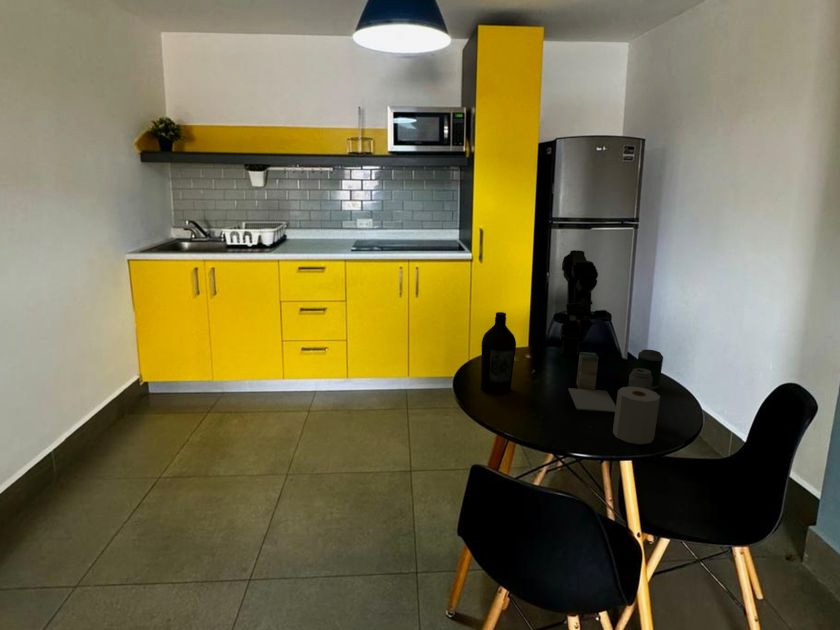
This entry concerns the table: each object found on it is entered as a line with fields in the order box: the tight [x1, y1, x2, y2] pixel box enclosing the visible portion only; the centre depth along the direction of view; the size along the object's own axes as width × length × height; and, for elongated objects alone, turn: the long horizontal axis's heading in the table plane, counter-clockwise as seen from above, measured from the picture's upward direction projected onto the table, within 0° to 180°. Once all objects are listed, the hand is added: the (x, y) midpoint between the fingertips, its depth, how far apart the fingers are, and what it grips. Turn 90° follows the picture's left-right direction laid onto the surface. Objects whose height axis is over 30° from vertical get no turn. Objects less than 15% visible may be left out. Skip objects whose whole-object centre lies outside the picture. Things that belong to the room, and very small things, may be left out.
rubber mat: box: [567, 387, 616, 413], centre depth 176 cm, size 16×12×1 cm
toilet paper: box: [612, 386, 661, 445], centre depth 151 cm, size 10×10×12 cm
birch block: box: [575, 351, 599, 390], centre depth 185 cm, size 5×5×11 cm
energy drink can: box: [627, 367, 653, 391], centre depth 160 cm, size 6×6×15 cm
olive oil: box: [480, 311, 517, 396], centre depth 178 cm, size 11×11×25 cm
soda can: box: [636, 349, 664, 391], centre depth 187 cm, size 8×8×12 cm
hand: (581, 342), depth 194 cm, fingers closed
